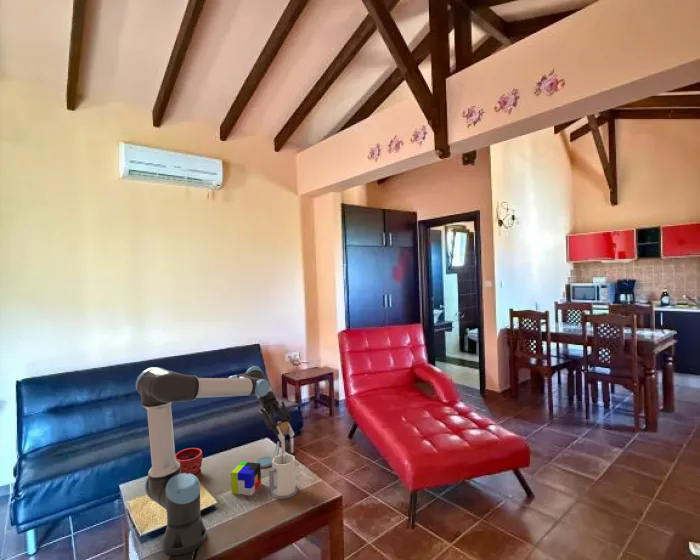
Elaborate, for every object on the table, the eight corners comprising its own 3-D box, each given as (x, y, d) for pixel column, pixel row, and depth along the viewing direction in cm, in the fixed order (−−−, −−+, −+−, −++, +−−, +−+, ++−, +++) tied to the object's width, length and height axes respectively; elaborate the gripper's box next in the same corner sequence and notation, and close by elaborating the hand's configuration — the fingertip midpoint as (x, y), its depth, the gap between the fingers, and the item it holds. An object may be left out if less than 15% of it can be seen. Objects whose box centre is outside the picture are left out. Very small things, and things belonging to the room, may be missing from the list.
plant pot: (169, 478, 189) (168, 455, 188) (194, 467, 199) (193, 445, 199) (183, 487, 181) (182, 462, 180) (208, 475, 191) (207, 451, 191)
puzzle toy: (251, 495, 172) (250, 474, 172) (231, 493, 174) (230, 472, 174) (261, 483, 182) (260, 463, 182) (242, 482, 184) (241, 461, 184)
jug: (279, 504, 165) (278, 470, 165) (263, 493, 173) (262, 461, 173) (303, 490, 175) (301, 458, 175) (286, 481, 183) (285, 450, 183)
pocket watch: (279, 445, 198) (250, 449, 194) (280, 466, 198) (251, 470, 194) (278, 437, 208) (250, 441, 204) (279, 457, 208) (251, 461, 204)
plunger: (282, 476, 169) (280, 427, 168) (271, 470, 174) (270, 423, 174) (296, 468, 175) (294, 421, 174) (285, 463, 180) (283, 417, 180)
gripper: (277, 394, 191) (299, 435, 180) (246, 404, 178) (268, 449, 167) (283, 386, 187) (306, 427, 176) (252, 395, 174) (275, 440, 163)
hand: (287, 438), depth 172 cm, fingers closed on plunger, 5 cm apart
